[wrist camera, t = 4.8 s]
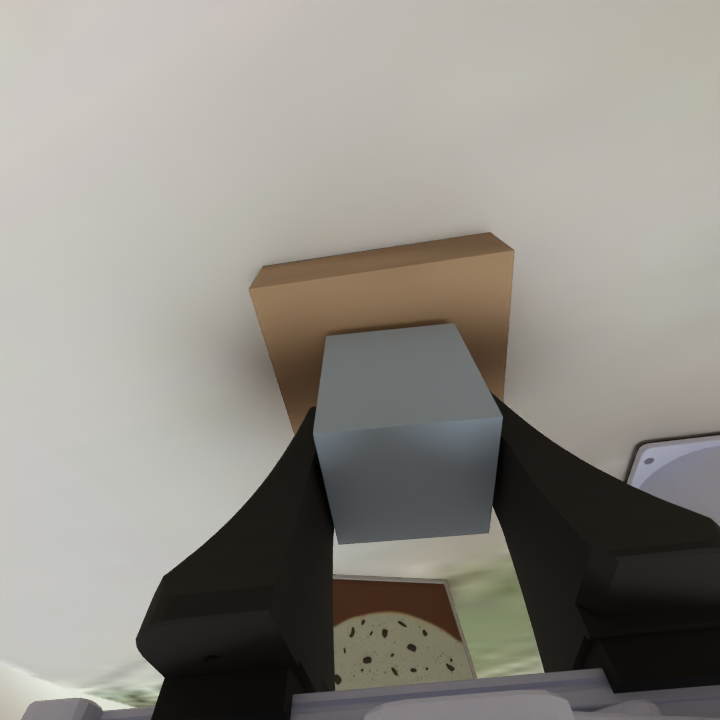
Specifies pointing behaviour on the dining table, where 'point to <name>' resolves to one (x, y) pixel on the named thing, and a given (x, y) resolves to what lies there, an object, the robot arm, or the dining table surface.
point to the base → (384, 305)
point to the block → (406, 435)
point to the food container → (396, 633)
